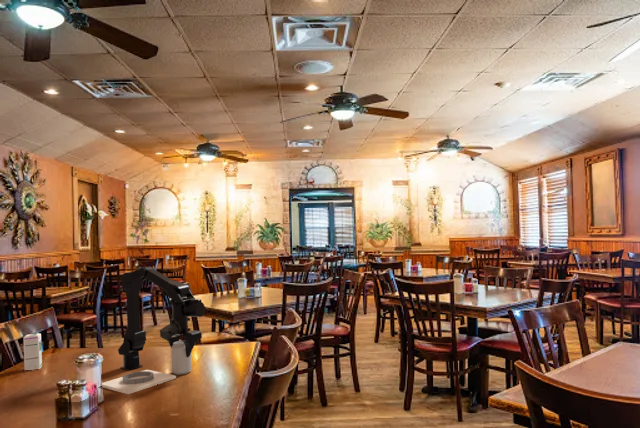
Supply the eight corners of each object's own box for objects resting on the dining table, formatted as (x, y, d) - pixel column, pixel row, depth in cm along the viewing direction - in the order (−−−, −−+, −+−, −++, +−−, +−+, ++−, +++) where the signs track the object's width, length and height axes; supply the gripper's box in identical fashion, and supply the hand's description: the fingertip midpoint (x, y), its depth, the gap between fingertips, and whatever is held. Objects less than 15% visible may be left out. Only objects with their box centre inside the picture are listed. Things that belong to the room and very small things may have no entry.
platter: (99, 386, 173) (99, 379, 174) (147, 372, 190) (146, 365, 190) (128, 394, 163) (128, 386, 163) (176, 378, 180) (175, 371, 180)
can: (186, 375, 182) (185, 344, 183) (168, 375, 184) (167, 344, 184) (195, 370, 190) (194, 339, 190) (177, 369, 191) (176, 339, 192)
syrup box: (40, 369, 201) (39, 335, 202) (23, 371, 199) (23, 336, 199) (42, 366, 206) (41, 332, 207) (26, 368, 204) (26, 334, 205)
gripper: (148, 318, 186) (149, 358, 186) (178, 321, 176) (180, 363, 175) (171, 313, 196) (172, 351, 195) (202, 316, 185) (203, 356, 184)
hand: (181, 355), depth 187 cm, fingers closed on can, 7 cm apart
